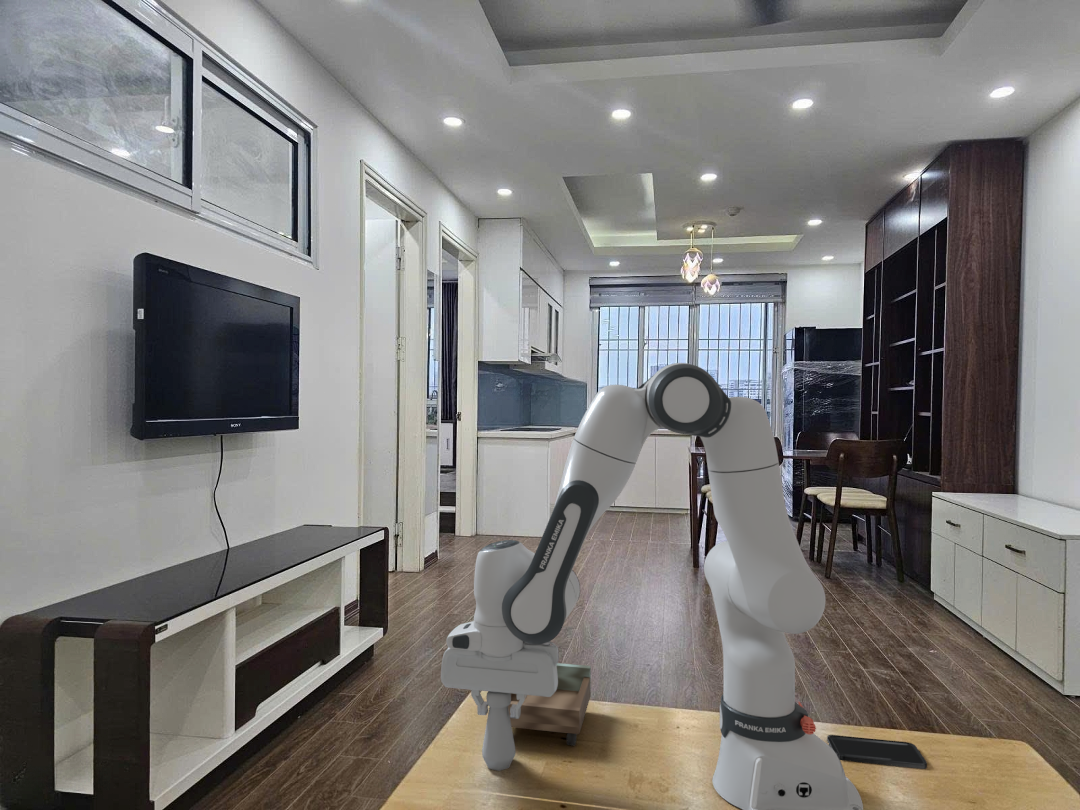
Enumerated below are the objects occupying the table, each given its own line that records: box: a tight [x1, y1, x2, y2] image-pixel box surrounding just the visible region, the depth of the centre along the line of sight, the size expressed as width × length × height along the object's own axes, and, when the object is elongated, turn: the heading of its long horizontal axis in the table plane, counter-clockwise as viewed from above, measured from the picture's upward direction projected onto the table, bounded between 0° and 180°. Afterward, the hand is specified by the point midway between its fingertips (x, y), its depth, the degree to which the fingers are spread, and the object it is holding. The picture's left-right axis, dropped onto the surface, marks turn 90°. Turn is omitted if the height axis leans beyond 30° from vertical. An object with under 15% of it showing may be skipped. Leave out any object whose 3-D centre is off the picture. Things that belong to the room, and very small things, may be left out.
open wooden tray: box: [508, 662, 592, 747], centre depth 129 cm, size 16×16×9 cm
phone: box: [826, 734, 928, 770], centre depth 120 cm, size 8×1×15 cm
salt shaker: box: [481, 691, 516, 772], centre depth 115 cm, size 6×6×13 cm
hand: (499, 715), depth 115 cm, fingers open, 4 cm apart
